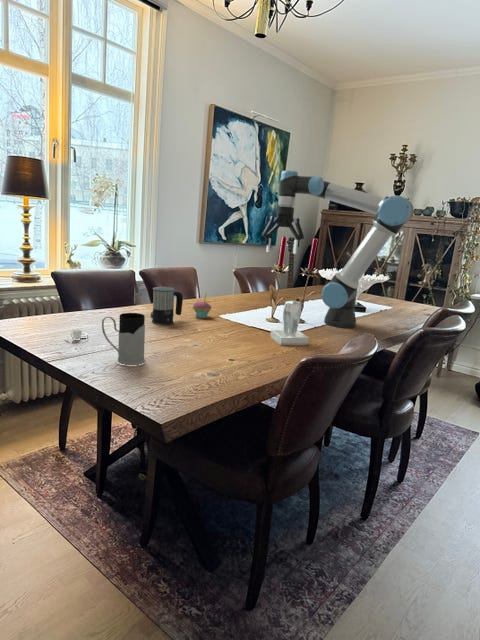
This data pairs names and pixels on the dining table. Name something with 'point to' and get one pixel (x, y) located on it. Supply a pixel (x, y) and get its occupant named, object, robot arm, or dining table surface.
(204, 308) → the cupcake
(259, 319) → the dining table surface
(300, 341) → the cup holder
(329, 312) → the robot arm
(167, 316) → the milk frother
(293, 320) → the beer glass
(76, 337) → the teacup and saucer
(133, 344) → the glass holder
